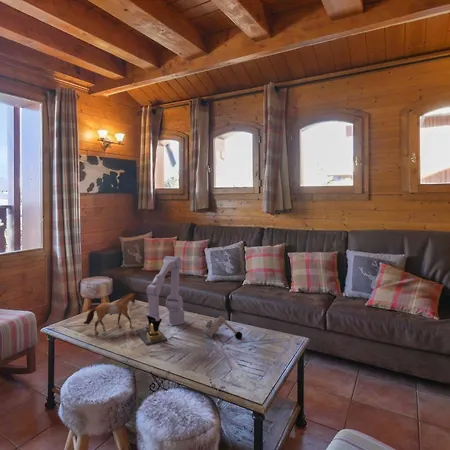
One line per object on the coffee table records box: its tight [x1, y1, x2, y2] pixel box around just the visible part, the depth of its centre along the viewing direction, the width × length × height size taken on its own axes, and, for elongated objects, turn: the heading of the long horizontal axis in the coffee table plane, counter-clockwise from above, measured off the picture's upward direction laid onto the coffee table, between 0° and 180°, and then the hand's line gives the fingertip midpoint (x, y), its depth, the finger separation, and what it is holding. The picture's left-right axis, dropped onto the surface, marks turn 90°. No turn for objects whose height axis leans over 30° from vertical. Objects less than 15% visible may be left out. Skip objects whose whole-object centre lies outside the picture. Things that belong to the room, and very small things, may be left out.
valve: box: [204, 315, 243, 340], centre depth 188 cm, size 10×20×15 cm
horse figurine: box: [82, 292, 137, 334], centre depth 195 cm, size 31×8×21 cm, turn 117°
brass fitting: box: [150, 323, 158, 337], centre depth 184 cm, size 4×4×8 cm
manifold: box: [135, 321, 168, 346], centre depth 188 cm, size 12×21×6 cm, turn 31°
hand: (153, 328), depth 183 cm, fingers open, 7 cm apart
